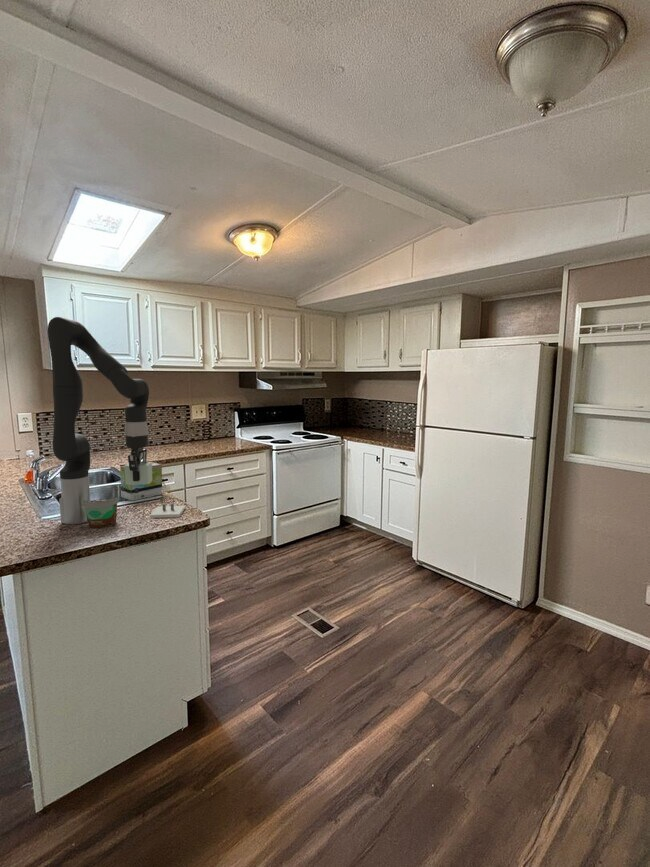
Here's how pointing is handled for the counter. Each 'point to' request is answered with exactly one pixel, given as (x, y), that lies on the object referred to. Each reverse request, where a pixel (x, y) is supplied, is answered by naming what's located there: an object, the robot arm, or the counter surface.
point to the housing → (144, 474)
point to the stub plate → (167, 511)
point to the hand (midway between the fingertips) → (139, 478)
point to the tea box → (142, 485)
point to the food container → (101, 512)
